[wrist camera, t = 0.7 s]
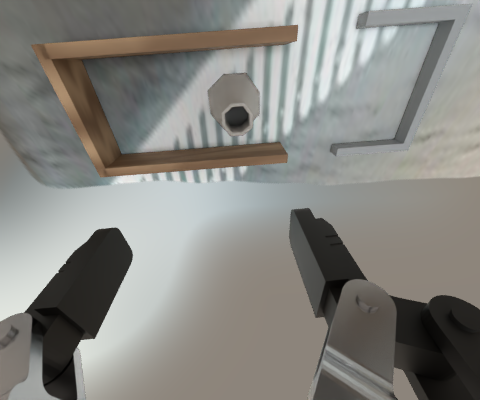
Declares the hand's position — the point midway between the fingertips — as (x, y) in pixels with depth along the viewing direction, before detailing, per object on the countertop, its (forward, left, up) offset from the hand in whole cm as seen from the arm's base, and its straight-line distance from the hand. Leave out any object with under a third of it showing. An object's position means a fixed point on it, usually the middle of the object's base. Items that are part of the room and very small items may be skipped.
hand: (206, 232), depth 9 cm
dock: (-2, +22, -23) cm, 32 cm away
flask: (-2, +2, -24) cm, 24 cm away
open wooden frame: (-2, -4, -23) cm, 24 cm away
